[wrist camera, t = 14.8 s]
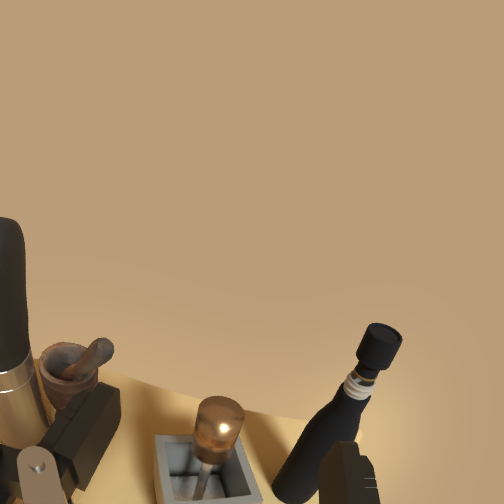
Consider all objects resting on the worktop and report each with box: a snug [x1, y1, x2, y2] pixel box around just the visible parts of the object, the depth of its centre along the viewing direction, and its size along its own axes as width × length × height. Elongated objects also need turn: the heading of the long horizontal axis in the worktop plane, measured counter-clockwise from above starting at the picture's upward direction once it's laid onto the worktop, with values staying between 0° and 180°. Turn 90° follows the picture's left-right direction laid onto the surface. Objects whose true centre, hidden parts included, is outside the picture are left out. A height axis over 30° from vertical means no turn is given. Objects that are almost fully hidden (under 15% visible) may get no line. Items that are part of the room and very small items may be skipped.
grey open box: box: [153, 435, 263, 504], centre depth 30 cm, size 10×10×12 cm
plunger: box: [170, 396, 245, 501], centre depth 28 cm, size 7×7×19 cm
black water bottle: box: [272, 323, 403, 504], centre depth 33 cm, size 6×6×30 cm
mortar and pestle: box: [39, 338, 114, 418], centre depth 37 cm, size 12×9×20 cm
